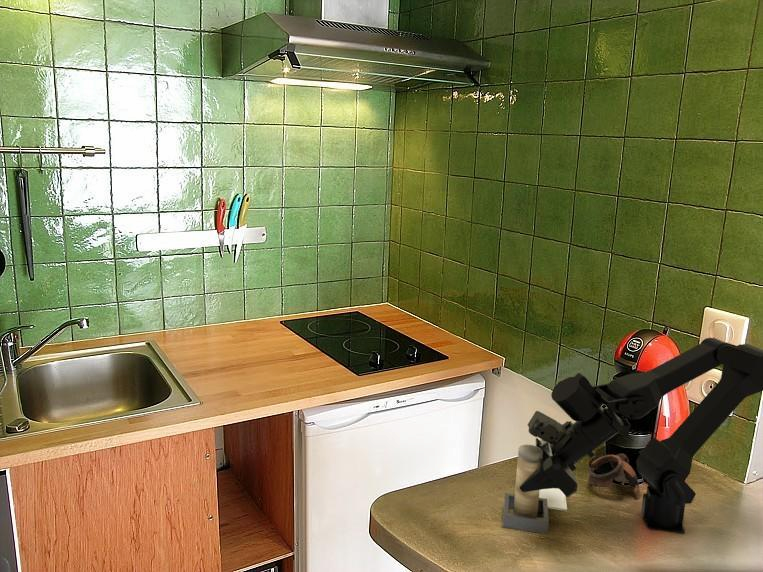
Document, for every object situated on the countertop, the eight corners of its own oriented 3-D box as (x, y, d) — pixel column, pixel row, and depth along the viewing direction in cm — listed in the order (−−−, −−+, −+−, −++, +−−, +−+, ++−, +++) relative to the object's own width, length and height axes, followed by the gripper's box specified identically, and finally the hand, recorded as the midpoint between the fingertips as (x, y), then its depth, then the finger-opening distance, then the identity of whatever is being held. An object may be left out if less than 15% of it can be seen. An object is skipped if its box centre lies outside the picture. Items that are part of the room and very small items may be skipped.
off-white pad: (564, 491, 128) (564, 489, 128) (567, 511, 121) (567, 509, 121) (524, 486, 130) (524, 484, 130) (524, 505, 123) (524, 503, 123)
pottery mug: (640, 509, 124) (623, 475, 122) (595, 514, 129) (578, 481, 128) (649, 471, 133) (632, 439, 132) (606, 476, 139) (590, 446, 137)
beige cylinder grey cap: (536, 514, 120) (542, 446, 117) (537, 527, 115) (543, 456, 113) (513, 511, 121) (518, 443, 118) (512, 523, 116) (518, 453, 114)
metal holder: (545, 510, 121) (547, 498, 121) (547, 534, 113) (548, 521, 113) (503, 504, 123) (504, 493, 122) (502, 527, 115) (503, 514, 114)
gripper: (552, 384, 122) (491, 431, 126) (563, 422, 104) (491, 475, 108) (590, 425, 122) (527, 471, 126) (607, 471, 104) (534, 523, 108)
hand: (520, 483), depth 117 cm, fingers closed on beige cylinder grey cap, 4 cm apart
